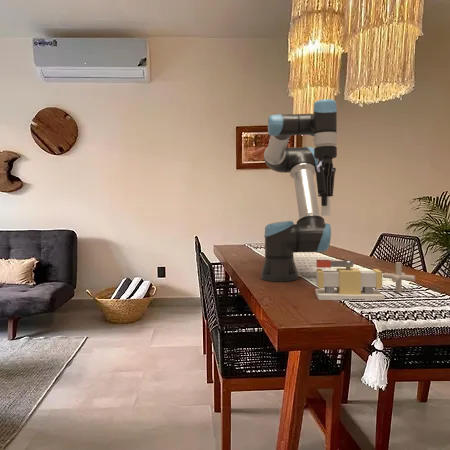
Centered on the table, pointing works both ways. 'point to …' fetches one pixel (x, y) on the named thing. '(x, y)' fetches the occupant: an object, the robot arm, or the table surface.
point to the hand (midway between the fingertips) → (325, 215)
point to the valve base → (349, 284)
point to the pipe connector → (398, 277)
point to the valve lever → (333, 263)
